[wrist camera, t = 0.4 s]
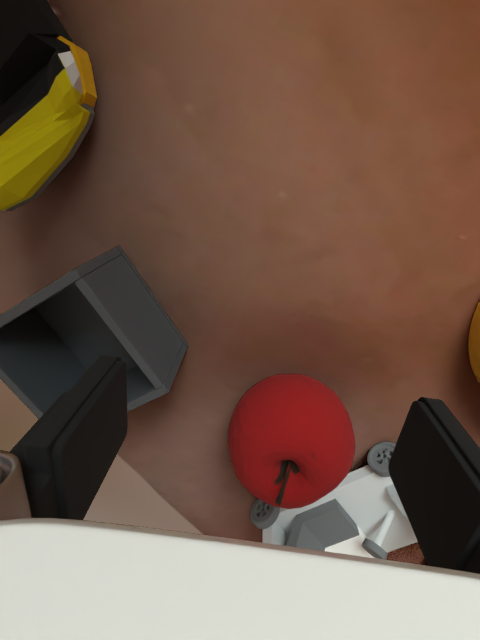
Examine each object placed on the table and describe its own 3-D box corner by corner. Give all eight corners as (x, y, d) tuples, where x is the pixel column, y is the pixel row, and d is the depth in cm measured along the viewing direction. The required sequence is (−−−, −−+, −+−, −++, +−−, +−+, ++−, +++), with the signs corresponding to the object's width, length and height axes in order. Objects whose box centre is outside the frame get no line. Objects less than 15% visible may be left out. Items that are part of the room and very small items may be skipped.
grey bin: (28, 302, 27) (-39, 339, 21) (119, 245, 25) (74, 268, 19) (101, 389, 30) (61, 443, 24) (188, 345, 28) (168, 392, 22)
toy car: (494, 533, 20) (554, 630, 24) (422, 422, 29) (473, 504, 33) (245, 617, 25) (325, 687, 29) (249, 500, 34) (309, 564, 38)
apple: (295, 458, 32) (310, 574, 23) (212, 412, 30) (190, 517, 21) (362, 389, 28) (410, 492, 19) (271, 333, 27) (277, 417, 18)
